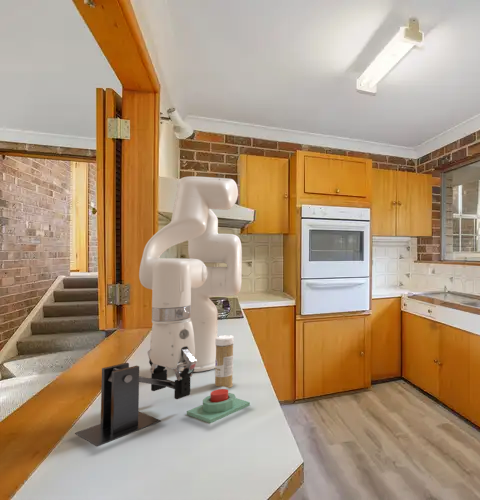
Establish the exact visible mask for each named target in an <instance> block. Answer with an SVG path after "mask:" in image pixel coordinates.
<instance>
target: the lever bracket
mask: <svg viewBox="0 0 480 500" xmlns="http://www.w3.org/2000/svg"><path fill="white" fill-rule="evenodd" d="M114 368H117V369H121V370H116V371H113V369H114ZM111 373H112V382H110V381H108V379H109V377H110V375H111ZM139 376H140V366H139V365H134V366H133V365H132V366H130V363H129V362H123V363H119V364H115V365H114V364H113V365H110V366H104V367H102V368H101V387H100V388H101V389H100V390H101V393H100V394H101V395H100V423H98V424H96V425H93V426H90V427H87V428H84V429H82V430H79V431H76V432H74V434H75V435H77V436H78V437H79V438H82V439H84V440H85V441H87V442H89V443H90V444H92V445H94V446H96V447H99V446H103V445H105V444H108V443H110V442H112V441H114V440H118V439H121V438H123V437H125V436H128V435H130V434H133V433H135V432H138V431H140V430H143V429H146V428H147V427H150V426H153V425H156V424H158V423H160V422H162V420H161V419H159V418H157V417H154V416H151V415H149V414H147V413H144V412H141V411H139V405H140V404H139V403H140V400H139V399H140V382H139Z"/></svg>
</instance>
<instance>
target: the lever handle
mask: <svg viewBox="0 0 480 500" xmlns="http://www.w3.org/2000/svg"><path fill="white" fill-rule="evenodd" d="M116 370H121V369H117V368H114V369H113V371H116ZM108 381H110V382H112V373H111V375H110V377H109V379H108ZM139 383H143V384H149V385H151V384H155V385H161V386H166V388H169V389H172V390H175V380H170V379H168V378H167V379H163V380H158V379H152V378H151V377H146V376H140V375H139Z"/></svg>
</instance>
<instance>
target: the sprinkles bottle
mask: <svg viewBox="0 0 480 500" xmlns="http://www.w3.org/2000/svg"><path fill="white" fill-rule="evenodd" d="M234 344H235V337H234V335H230V334H227V335H225V334H223V335H219V336H218V335H217V337H216V338H215V345H216V361H215V368H214V376H215V377H214V386H216V387H220V388H221V387H223V388H226V389H227V388H228V389H231V388H232V387H233V386H234V383H233V374H234Z"/></svg>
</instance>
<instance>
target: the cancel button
mask: <svg viewBox="0 0 480 500" xmlns="http://www.w3.org/2000/svg"><path fill="white" fill-rule="evenodd" d="M228 393H229V390H228V389H227V388H220V389H219V388H218V389H214V390H212V391H211V392H210V394H209V396H210V402H221V401H225V400H227V399H228Z"/></svg>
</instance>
